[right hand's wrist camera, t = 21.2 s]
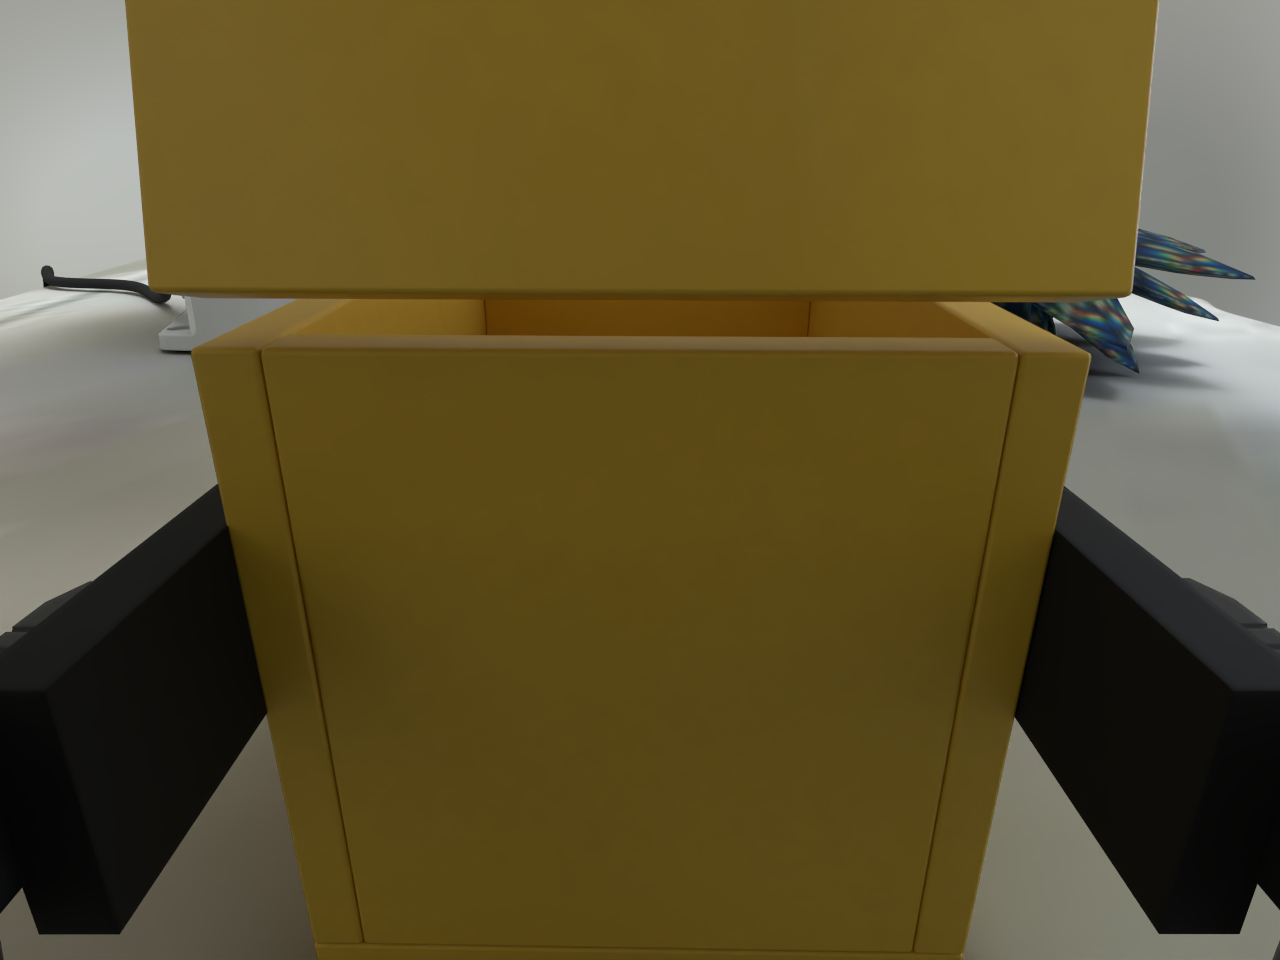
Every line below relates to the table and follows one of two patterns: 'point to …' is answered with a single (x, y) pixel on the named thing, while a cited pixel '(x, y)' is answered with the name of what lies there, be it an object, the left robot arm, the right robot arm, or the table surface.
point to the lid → (642, 148)
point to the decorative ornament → (1107, 317)
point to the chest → (640, 614)
